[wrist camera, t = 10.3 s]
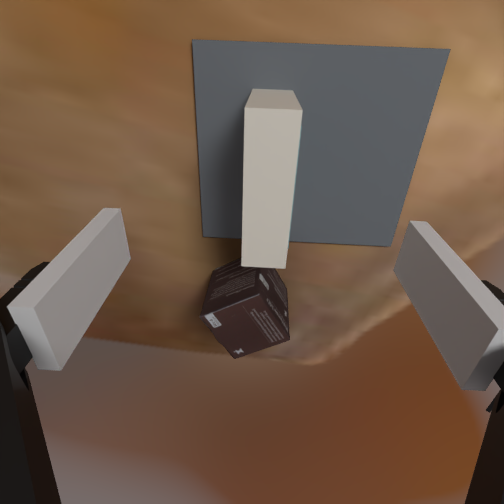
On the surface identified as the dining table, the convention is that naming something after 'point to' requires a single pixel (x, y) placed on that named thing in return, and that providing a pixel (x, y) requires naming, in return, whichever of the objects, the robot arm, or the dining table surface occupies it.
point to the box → (246, 308)
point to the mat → (318, 132)
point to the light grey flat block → (269, 175)
